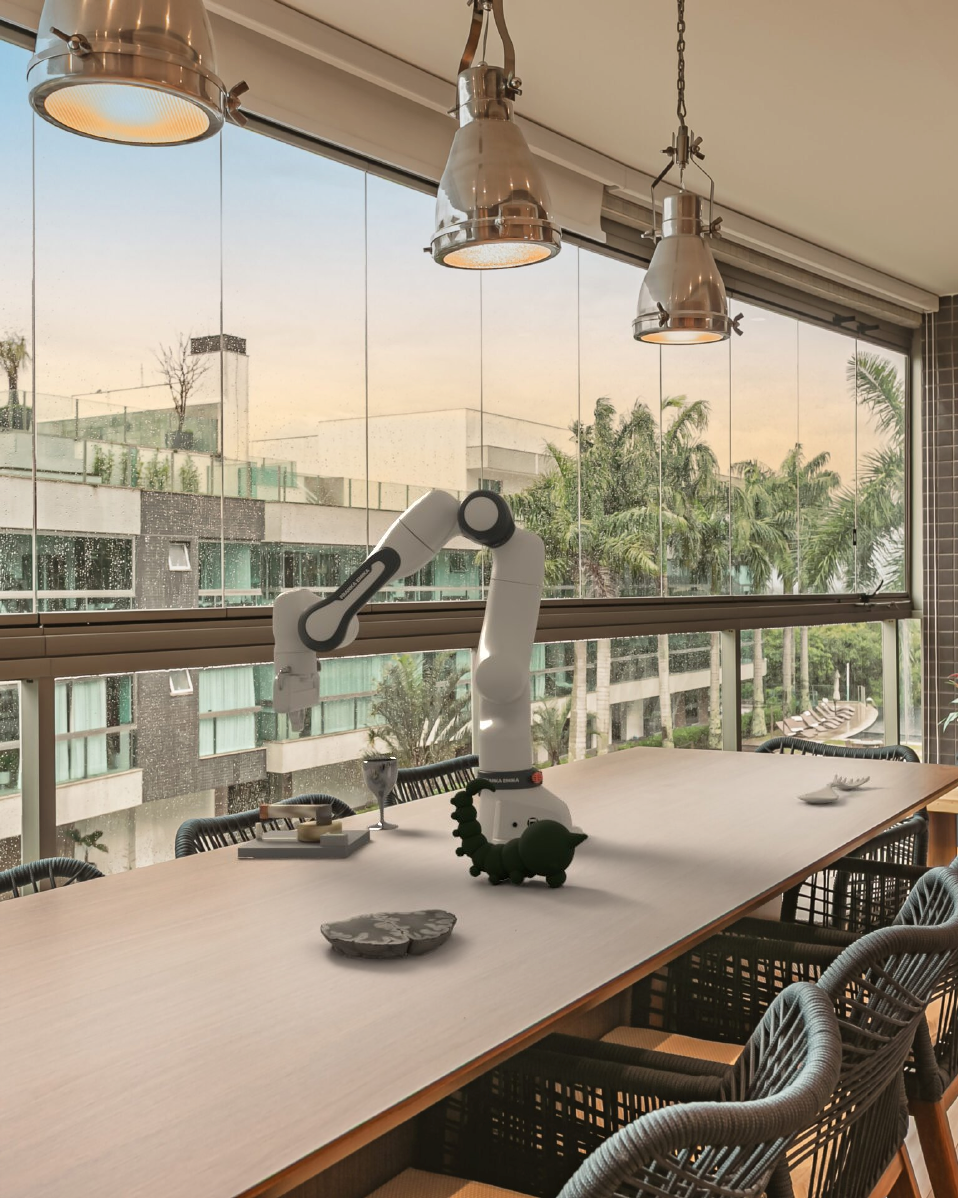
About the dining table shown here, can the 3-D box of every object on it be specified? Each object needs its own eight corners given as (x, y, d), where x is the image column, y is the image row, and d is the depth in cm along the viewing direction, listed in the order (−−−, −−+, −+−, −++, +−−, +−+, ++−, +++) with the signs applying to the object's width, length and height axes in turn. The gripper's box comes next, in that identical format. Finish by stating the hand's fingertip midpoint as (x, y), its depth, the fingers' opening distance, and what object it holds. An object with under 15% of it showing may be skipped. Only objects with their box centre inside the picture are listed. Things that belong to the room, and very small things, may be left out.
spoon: (871, 788, 280) (871, 774, 280) (829, 809, 254) (829, 793, 254) (835, 786, 285) (835, 772, 285) (790, 806, 259) (790, 791, 259)
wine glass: (394, 830, 246) (392, 761, 246) (359, 830, 248) (357, 762, 248) (404, 823, 254) (402, 757, 254) (370, 823, 255) (368, 757, 256)
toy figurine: (450, 893, 194) (582, 893, 182) (437, 783, 196) (568, 775, 183) (477, 881, 203) (605, 880, 191) (465, 776, 204) (591, 768, 192)
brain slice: (345, 975, 147) (345, 952, 147) (310, 943, 163) (310, 922, 163) (483, 953, 155) (482, 931, 155) (437, 923, 170) (436, 904, 170)
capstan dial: (348, 833, 233) (347, 801, 233) (332, 842, 224) (331, 809, 224) (272, 832, 237) (270, 801, 237) (253, 841, 228) (252, 808, 228)
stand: (370, 839, 237) (369, 814, 237) (345, 858, 219) (344, 831, 219) (270, 840, 240) (269, 815, 240) (238, 858, 223) (237, 831, 223)
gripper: (293, 667, 229) (296, 736, 228) (323, 663, 249) (326, 726, 249) (263, 669, 230) (266, 737, 229) (296, 664, 250) (298, 726, 250)
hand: (297, 731), depth 239 cm, fingers closed
